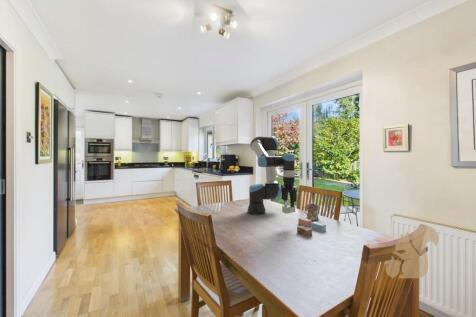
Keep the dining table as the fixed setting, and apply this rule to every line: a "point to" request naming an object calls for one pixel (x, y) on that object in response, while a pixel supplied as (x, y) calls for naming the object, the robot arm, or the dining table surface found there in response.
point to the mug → (312, 211)
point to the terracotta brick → (304, 222)
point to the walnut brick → (304, 231)
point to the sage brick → (287, 209)
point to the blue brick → (318, 226)
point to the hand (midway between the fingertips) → (288, 211)
